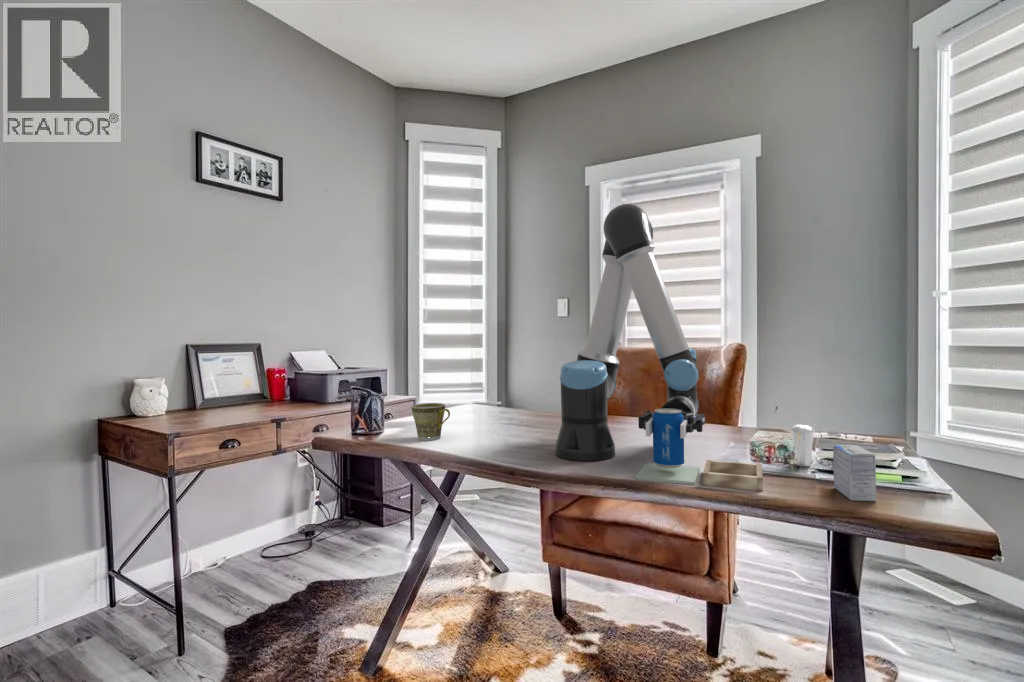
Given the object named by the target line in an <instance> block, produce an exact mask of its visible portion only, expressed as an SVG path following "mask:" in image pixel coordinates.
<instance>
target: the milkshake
mask: <svg viewBox="0 0 1024 682" xmlns="http://www.w3.org/2000/svg"><path fill="white" fill-rule="evenodd" d="M816 424H817V423H816V422H815V423H814V424H813V427H812V426H811V425H808V424H794V425H793V426H792V427H791V428H790V432H791V438H792V439H791V440H792V445H793V444H794V446H795V448H796V456H797V460H798V461H795V460H794V459H793V463H794V465H795V466H799V467H811V466H812V454H813V443H814V433H815V426H816Z"/></svg>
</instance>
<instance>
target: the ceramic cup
mask: <svg viewBox="0 0 1024 682" xmlns="http://www.w3.org/2000/svg"><path fill="white" fill-rule="evenodd" d="M445 412H446V413H447V415H448V416H447V417H446V418H445V419H444V416H445ZM411 413H412V417H413V419H414V423H415V428H416V433H417V435H416V436H417V439H418V440H419V441H422V442H423V441H424V442H430V441H431V442H432V441H437V440H440V439H441V437H442V430H443V429H442V427H443V424H445V422H446V421H447V420H449V419H450V417H451V413H450V410H449V409H448V408H446V404H445V403H442V402H441V403H439V402H426V403H416V404H413V405H411ZM428 437H430V438H428Z"/></svg>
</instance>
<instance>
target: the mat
mask: <svg viewBox="0 0 1024 682" xmlns="http://www.w3.org/2000/svg"><path fill="white" fill-rule="evenodd" d="M700 471H701V466H691V465H681V466H680V467H678V468H663V467H659V466H657V464H656V463H654V462H644V464H643V466H642V467H641V468H640V469H639V471H638V472H637V474H636V475H635V480H638V481H650V482H660V483H668V484H669V483H671V484H680V485H682V484H683V485H691V486H696V483H697V481H698V477H699V474H700Z"/></svg>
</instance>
